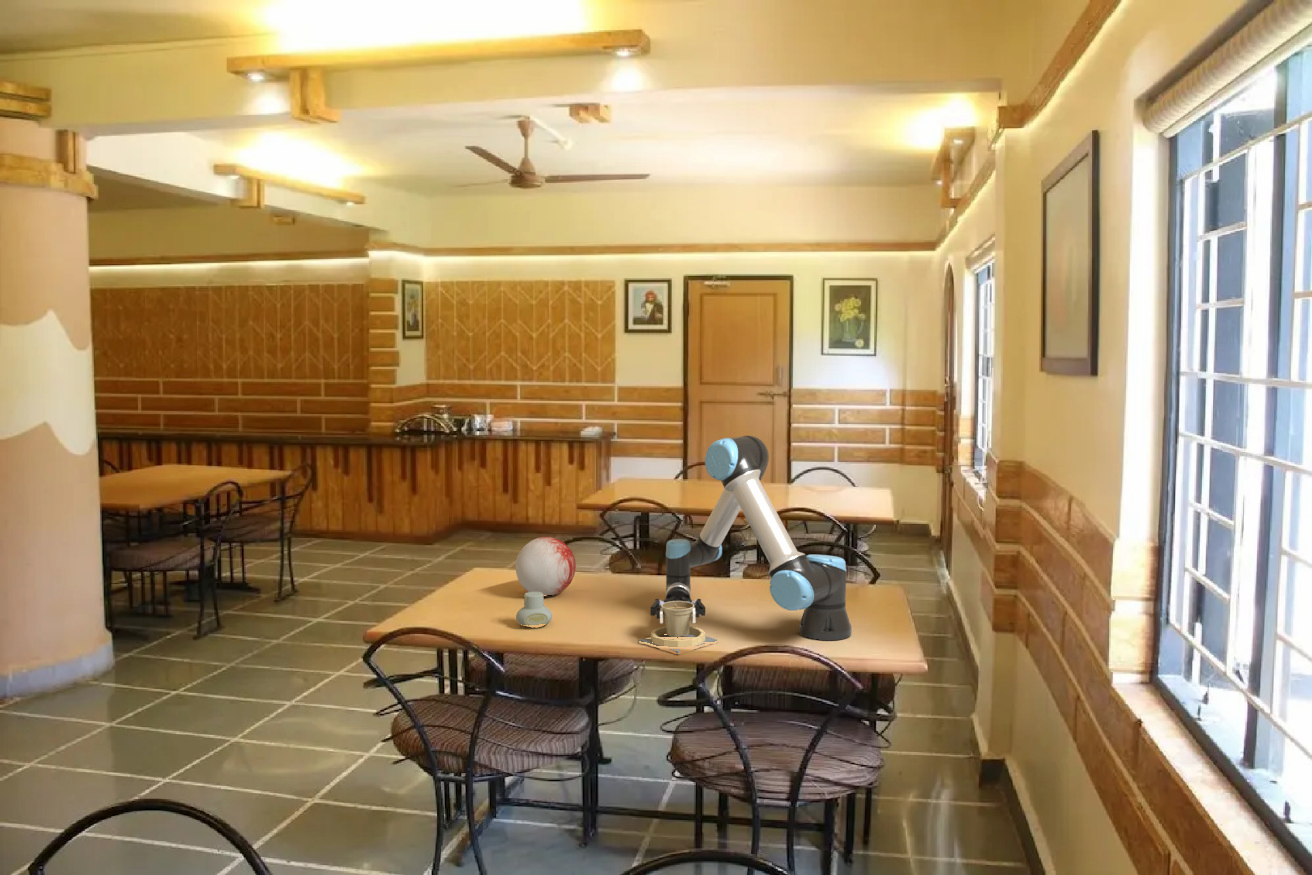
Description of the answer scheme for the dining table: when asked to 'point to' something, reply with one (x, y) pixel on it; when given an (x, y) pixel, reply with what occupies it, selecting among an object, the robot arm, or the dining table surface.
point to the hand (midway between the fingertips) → (677, 618)
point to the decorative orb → (545, 566)
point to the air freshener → (534, 610)
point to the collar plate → (693, 632)
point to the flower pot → (677, 617)
